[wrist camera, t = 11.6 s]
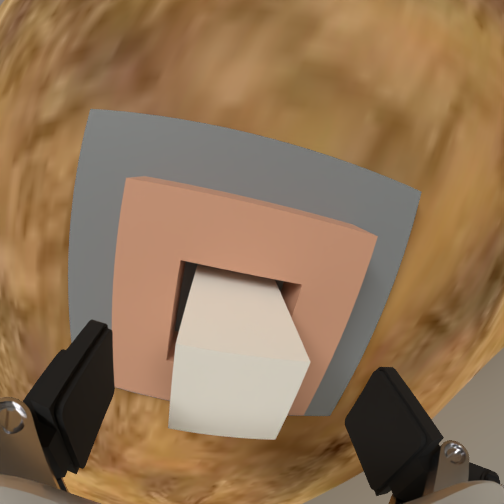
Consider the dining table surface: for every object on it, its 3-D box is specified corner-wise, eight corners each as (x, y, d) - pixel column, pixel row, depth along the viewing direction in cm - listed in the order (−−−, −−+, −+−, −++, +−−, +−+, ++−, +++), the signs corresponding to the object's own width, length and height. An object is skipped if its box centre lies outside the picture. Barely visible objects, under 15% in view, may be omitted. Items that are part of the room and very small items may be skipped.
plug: (271, 272, 16) (310, 361, 8) (255, 333, 17) (275, 439, 9) (199, 258, 15) (175, 343, 8) (188, 322, 16) (168, 428, 8)
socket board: (412, 190, 16) (452, 197, 12) (326, 407, 21) (340, 442, 17) (97, 111, 13) (64, 98, 9) (80, 366, 18) (60, 399, 14)
